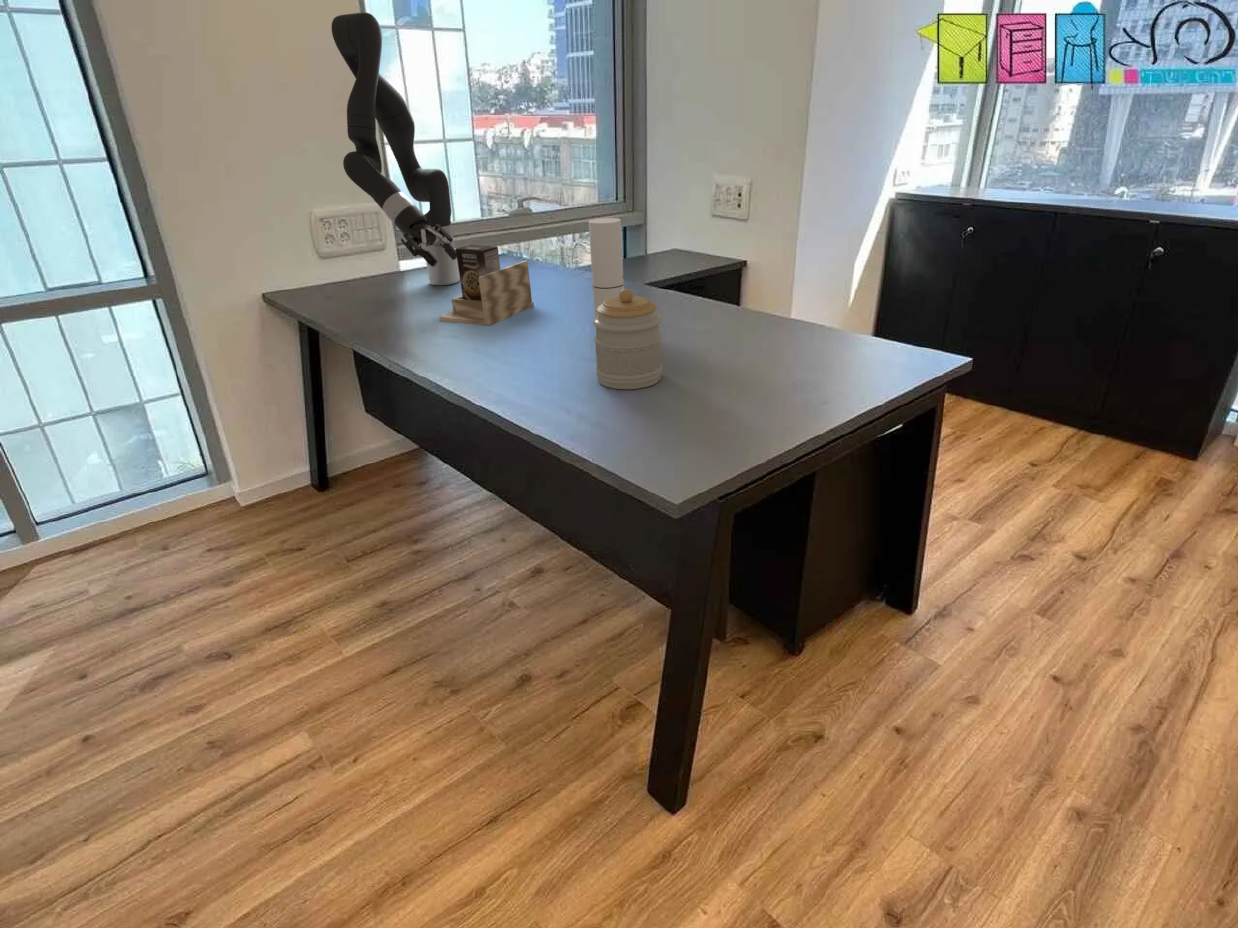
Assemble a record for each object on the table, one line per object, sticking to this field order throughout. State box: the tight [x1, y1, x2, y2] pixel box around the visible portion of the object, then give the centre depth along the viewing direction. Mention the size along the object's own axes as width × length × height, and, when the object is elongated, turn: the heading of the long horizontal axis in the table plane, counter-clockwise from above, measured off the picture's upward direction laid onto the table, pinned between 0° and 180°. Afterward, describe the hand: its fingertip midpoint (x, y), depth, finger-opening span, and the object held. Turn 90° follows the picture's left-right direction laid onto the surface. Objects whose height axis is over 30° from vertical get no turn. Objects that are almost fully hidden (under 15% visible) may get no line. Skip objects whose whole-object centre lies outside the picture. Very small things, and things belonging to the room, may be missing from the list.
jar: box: [592, 288, 664, 390], centre depth 138 cm, size 13×13×18 cm
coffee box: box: [455, 244, 501, 301], centre depth 187 cm, size 9×6×16 cm
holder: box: [438, 260, 535, 327], centre depth 189 cm, size 20×16×12 cm
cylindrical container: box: [588, 217, 625, 319], centre depth 166 cm, size 7×7×25 cm
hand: (445, 261), depth 191 cm, fingers open, 8 cm apart
